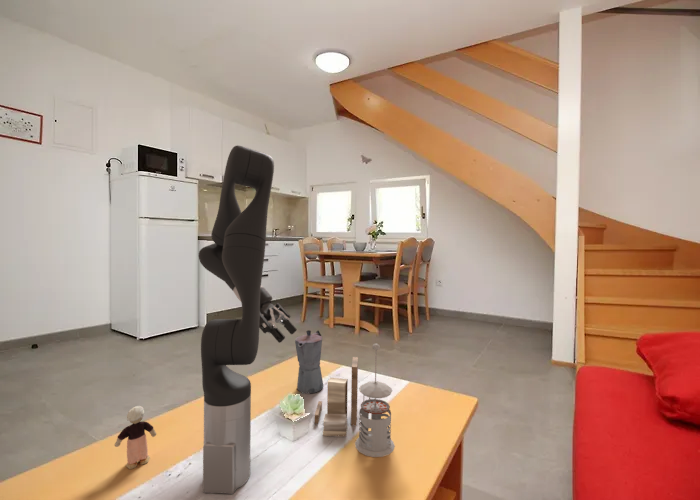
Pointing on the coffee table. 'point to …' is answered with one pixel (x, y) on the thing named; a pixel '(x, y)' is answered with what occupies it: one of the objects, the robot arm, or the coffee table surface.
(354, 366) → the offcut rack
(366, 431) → the french press
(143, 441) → the grandmother figurine
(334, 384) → the light wooden block
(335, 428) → the offcut stack
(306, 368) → the moka pot
